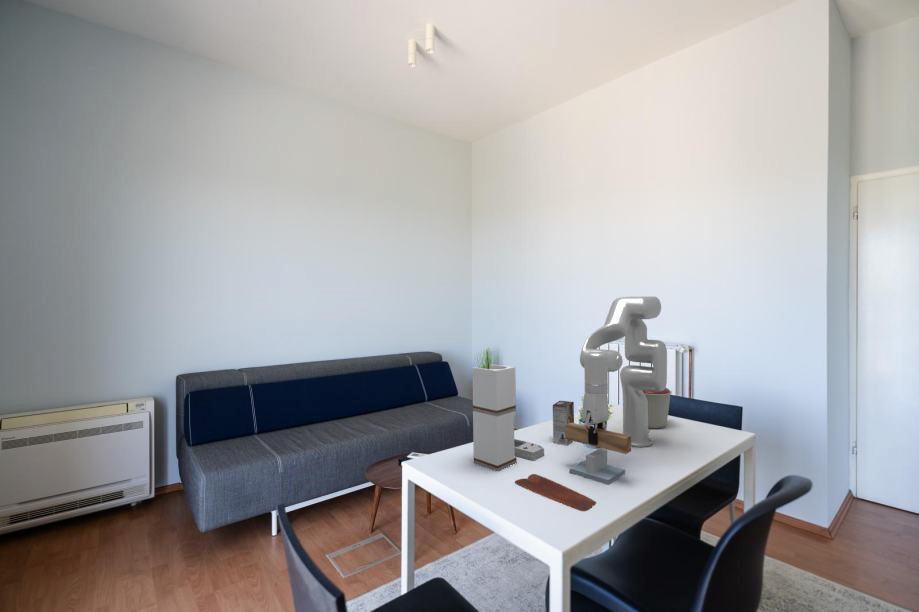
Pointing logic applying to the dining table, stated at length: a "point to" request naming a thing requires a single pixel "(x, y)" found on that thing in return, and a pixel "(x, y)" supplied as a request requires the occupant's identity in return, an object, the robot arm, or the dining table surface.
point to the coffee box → (562, 420)
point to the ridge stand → (597, 468)
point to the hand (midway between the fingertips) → (596, 441)
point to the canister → (657, 407)
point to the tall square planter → (494, 416)
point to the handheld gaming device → (527, 450)
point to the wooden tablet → (556, 492)
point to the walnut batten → (599, 438)
